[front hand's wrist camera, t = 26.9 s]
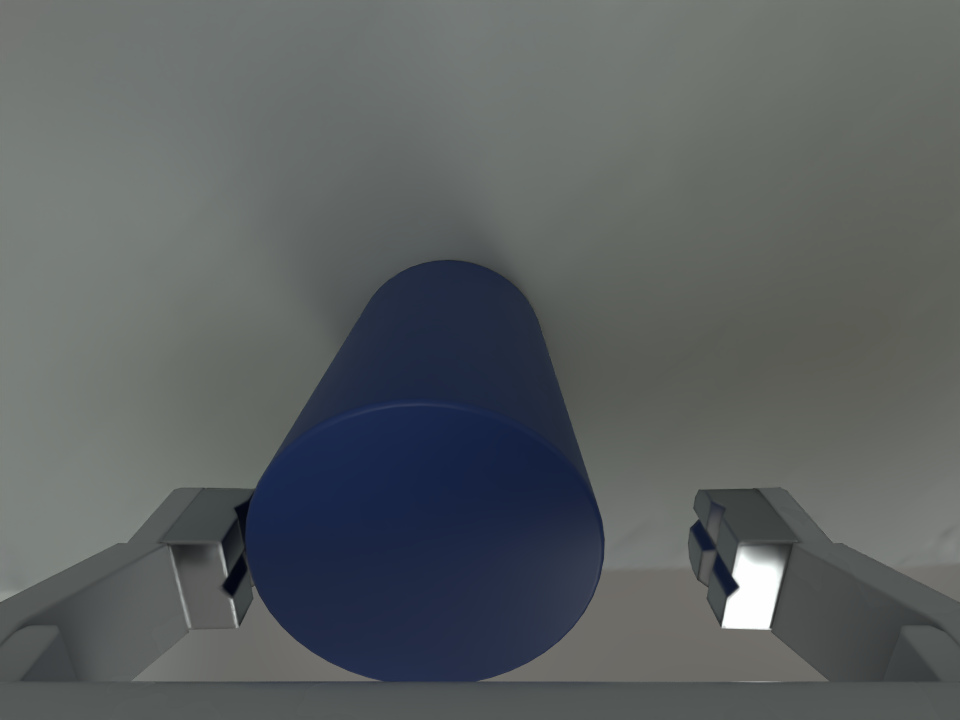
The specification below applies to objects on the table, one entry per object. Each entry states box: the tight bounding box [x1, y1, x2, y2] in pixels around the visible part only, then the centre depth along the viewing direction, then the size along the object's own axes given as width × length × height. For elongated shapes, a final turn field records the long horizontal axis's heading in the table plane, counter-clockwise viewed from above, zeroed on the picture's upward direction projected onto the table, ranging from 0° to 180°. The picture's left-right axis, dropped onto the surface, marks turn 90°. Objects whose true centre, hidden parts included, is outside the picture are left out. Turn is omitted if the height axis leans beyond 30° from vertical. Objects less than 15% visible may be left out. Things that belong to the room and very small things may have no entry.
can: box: [245, 260, 605, 682], centre depth 13 cm, size 6×6×9 cm
